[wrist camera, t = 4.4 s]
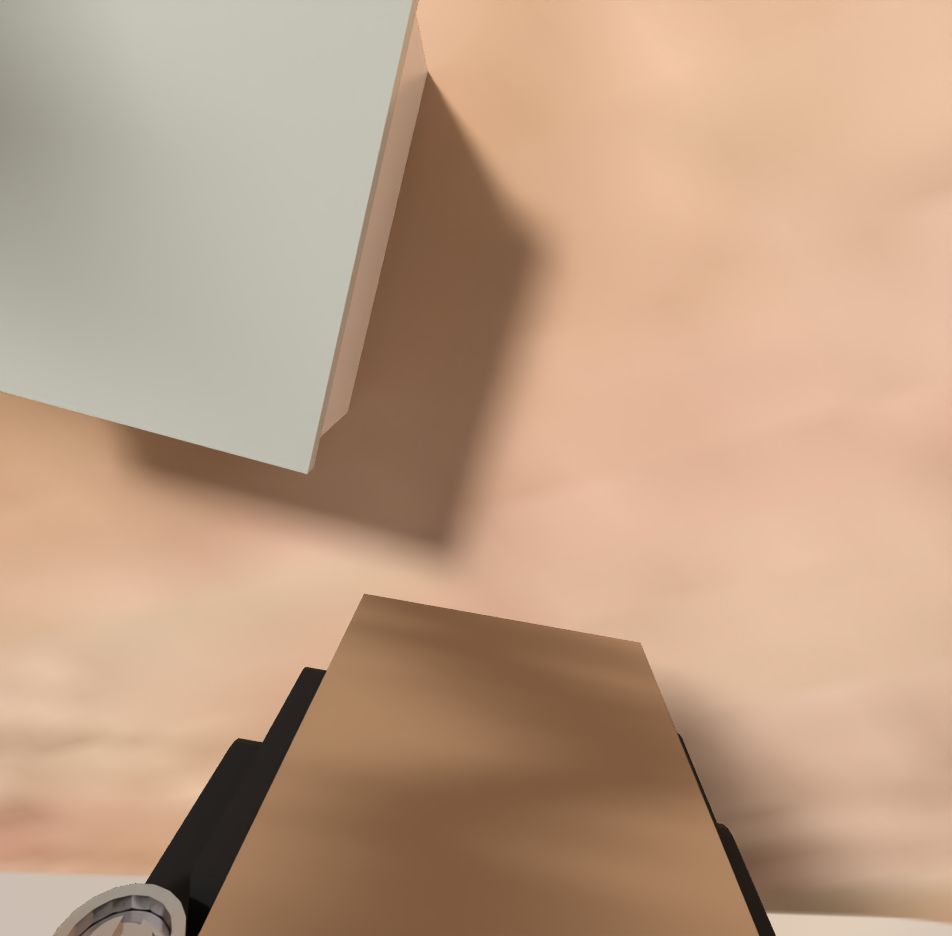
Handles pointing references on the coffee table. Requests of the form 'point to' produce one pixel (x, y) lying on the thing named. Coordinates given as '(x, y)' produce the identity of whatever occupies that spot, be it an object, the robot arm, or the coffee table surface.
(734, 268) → the coffee table surface
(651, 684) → the walnut block
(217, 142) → the pale grey box
